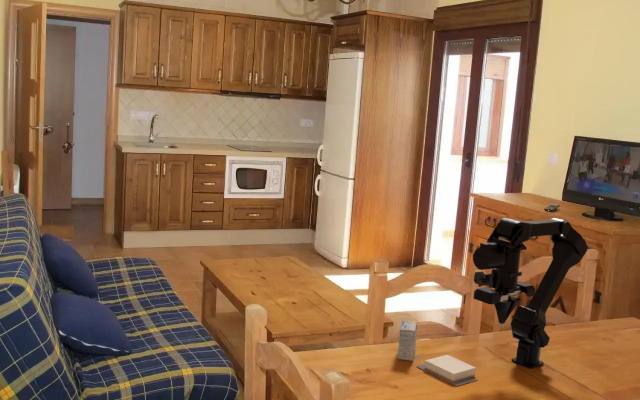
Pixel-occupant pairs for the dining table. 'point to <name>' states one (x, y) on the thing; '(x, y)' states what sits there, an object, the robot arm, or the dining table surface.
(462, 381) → the grey mat
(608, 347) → the dining table surface
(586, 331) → the dining table surface
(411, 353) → the medicine box
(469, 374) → the tile
